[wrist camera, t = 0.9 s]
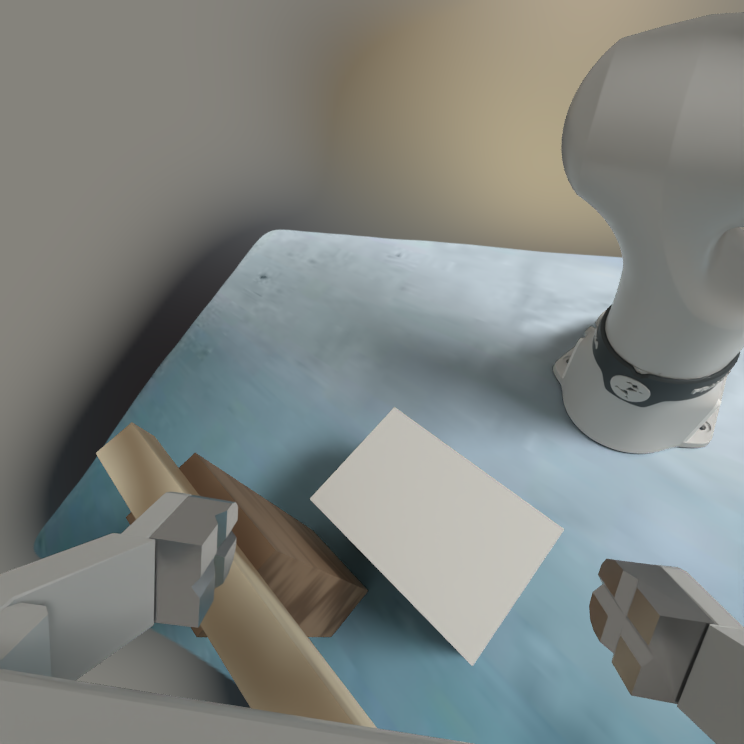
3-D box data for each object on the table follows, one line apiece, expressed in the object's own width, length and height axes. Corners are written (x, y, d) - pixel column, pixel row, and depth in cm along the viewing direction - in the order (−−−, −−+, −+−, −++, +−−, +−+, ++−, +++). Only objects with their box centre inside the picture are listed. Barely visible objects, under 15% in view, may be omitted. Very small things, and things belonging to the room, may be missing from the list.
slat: (154, 436, 31) (131, 422, 29) (378, 729, 19) (366, 740, 17) (121, 465, 30) (95, 453, 28) (333, 792, 18) (314, 813, 16)
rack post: (312, 530, 50) (195, 452, 29) (368, 590, 45) (275, 550, 24) (277, 569, 49) (125, 517, 27) (331, 636, 44) (196, 637, 22)
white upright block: (412, 460, 53) (394, 406, 40) (538, 559, 43) (564, 529, 31) (350, 533, 49) (309, 498, 37) (472, 657, 40) (472, 666, 28)
